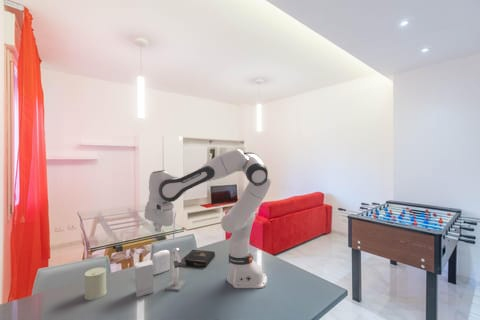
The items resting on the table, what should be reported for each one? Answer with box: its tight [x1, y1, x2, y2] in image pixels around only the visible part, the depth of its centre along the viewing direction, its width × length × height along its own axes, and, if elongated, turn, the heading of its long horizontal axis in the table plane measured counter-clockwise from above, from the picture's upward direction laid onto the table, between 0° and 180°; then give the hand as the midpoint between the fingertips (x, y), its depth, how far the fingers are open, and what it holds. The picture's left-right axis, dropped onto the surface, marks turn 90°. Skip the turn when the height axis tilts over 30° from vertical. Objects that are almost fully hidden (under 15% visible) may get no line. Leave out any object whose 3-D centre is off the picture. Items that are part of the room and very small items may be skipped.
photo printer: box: [151, 249, 171, 276], centre depth 135 cm, size 10×4×12 cm, turn 134°
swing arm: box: [171, 246, 187, 268], centre depth 111 cm, size 21×5×2 cm, turn 23°
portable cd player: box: [181, 249, 216, 269], centre depth 149 cm, size 16×17×4 cm
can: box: [84, 266, 108, 301], centre depth 112 cm, size 9×9×12 cm
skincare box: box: [134, 259, 155, 298], centre depth 114 cm, size 8×6×15 cm
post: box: [164, 254, 187, 292], centre depth 119 cm, size 8×8×18 cm
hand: (157, 231), depth 110 cm, fingers closed
